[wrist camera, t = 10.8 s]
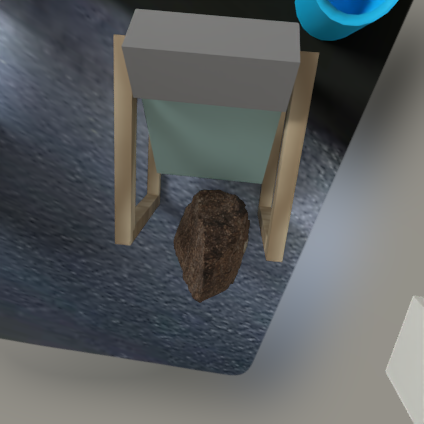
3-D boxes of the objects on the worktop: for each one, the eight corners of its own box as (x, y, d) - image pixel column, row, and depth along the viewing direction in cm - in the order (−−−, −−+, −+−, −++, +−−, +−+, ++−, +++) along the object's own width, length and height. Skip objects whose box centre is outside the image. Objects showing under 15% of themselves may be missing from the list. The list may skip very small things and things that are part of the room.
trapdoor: (161, 155, 39) (154, 186, 37) (135, 8, 25) (121, 46, 22) (262, 165, 39) (261, 197, 37) (299, 23, 24) (300, 62, 22)
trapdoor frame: (148, 202, 44) (114, 243, 32) (153, 54, 39) (113, 34, 26) (268, 215, 44) (282, 262, 31) (291, 67, 38) (319, 52, 26)
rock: (164, 296, 34) (240, 320, 38) (225, 224, 29) (302, 261, 34) (159, 222, 44) (220, 248, 48) (204, 160, 39) (265, 195, 44)
